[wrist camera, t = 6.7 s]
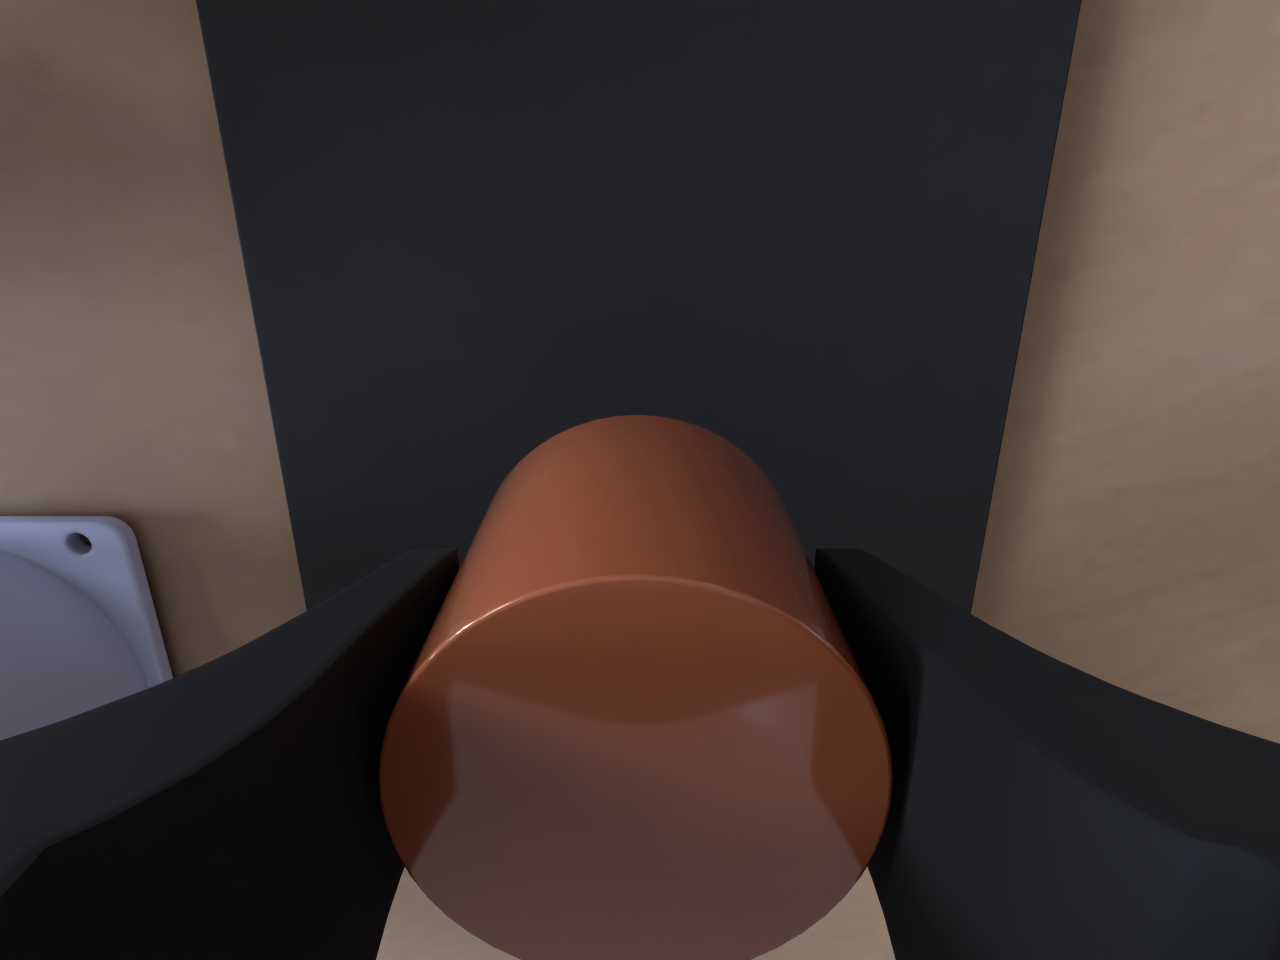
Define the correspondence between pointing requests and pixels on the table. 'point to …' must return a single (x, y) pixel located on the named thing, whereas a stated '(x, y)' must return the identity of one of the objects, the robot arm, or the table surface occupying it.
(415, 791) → the copper cylinder
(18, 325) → the table surface
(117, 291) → the table surface
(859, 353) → the mat
